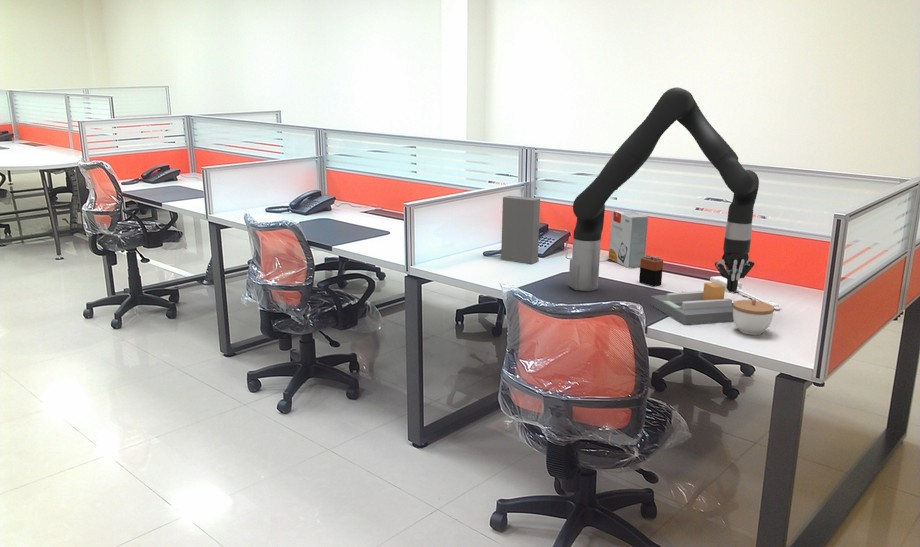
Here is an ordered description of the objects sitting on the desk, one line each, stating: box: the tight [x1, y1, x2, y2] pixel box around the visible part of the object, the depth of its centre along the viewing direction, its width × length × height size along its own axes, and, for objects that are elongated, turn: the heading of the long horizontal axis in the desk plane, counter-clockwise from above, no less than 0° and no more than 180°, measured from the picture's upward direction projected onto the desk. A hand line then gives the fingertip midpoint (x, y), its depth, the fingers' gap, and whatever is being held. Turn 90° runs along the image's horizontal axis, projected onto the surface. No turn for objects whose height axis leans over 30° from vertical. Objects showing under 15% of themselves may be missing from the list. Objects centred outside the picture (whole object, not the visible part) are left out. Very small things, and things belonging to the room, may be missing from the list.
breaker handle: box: [702, 282, 726, 300], centre depth 218 cm, size 4×5×5 cm
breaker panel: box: [650, 290, 734, 326], centre depth 218 cm, size 21×20×5 cm
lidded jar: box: [732, 298, 775, 336], centre depth 201 cm, size 11×11×9 cm
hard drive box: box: [608, 209, 649, 269], centre depth 277 cm, size 16×8×20 cm, turn 17°
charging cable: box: [709, 275, 782, 311], centre depth 236 cm, size 5×32×3 cm, turn 16°
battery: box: [638, 254, 664, 287], centre depth 249 cm, size 4×7×10 cm, turn 37°
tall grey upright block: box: [500, 195, 541, 265], centre depth 278 cm, size 14×6×25 cm, turn 58°
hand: (731, 291), depth 220 cm, fingers closed
